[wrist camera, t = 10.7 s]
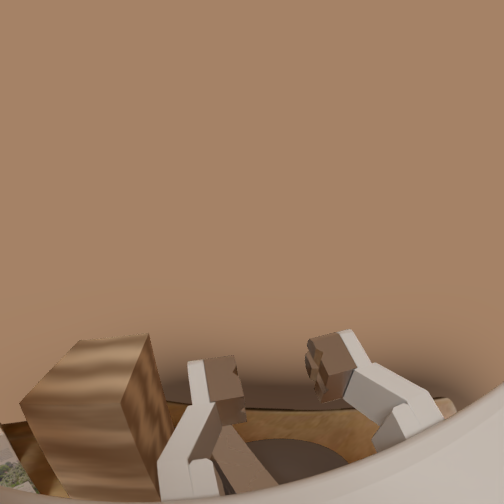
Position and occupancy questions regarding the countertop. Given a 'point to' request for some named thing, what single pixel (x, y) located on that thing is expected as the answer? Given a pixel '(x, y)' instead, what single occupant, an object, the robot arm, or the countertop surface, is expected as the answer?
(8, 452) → the syrup box
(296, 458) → the dial scale
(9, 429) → the countertop surface
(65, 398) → the wooden stand
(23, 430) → the countertop surface
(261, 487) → the wooden bar
